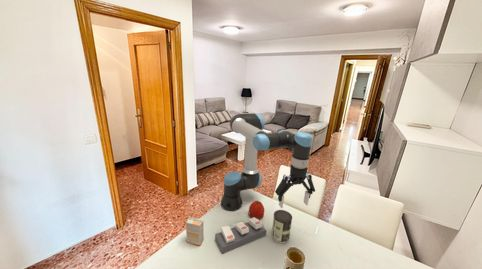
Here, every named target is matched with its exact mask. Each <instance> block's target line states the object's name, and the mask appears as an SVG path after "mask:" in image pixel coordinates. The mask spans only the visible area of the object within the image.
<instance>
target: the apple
mask: <svg viewBox="0 0 482 269" xmlns="http://www.w3.org/2000/svg"><path fill="white" fill-rule="evenodd" d="M248 207H249V208H248V214H249V216H250V218H254V217H255V218H256V219H258V220H260V219H262V218H263V217H264V214H265V207H264V205H263V203H262V201H259V200H253V202H252V203H250V205H249V206H248Z"/></svg>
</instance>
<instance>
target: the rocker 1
mask: <svg viewBox="0 0 482 269" xmlns="http://www.w3.org/2000/svg"><path fill="white" fill-rule="evenodd" d="M230 228H231V227H230V225H229V224H228V225H225V226H221V228H220V232H222V234H223V236H224V239H225V241H226V243H229V242H232V241H234V239H235V237H234V235H233V233H232V231H231V229H230Z"/></svg>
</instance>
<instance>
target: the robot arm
mask: <svg viewBox="0 0 482 269" xmlns="http://www.w3.org/2000/svg"><path fill="white" fill-rule="evenodd" d="M229 127H230V129H231V131H233V132H234V133H236V134H240V135H242V136H243V137H244V139H245V144H244V148H245V149H244V168H242V170H241V172H242V173H241V172H239V171H230V172H228V173H226V174H225V175H224V177H223V195H222V197H221V200H220V206H221V208H222V209H224V210H226V211H228V212H229V211H231V212H235V211H238V210H239V209H241V208H242V207H243V200H242V196H241V192H242V191H247V190H248V191H249V190H251V189H256V188H259V187H260V186H261V184H262V174H261V173H260V171H259V169H257V168H258V167H257V166H258V164H257V163H258V151H267V150H268V151H269V150H274V149H275V150H276V149H285V148H287V149H289V150H290V151H292V153H291V154H292V155H291V159H290V160H291V161H290V167H289V168H290V169H289V175H286V174H283V176H282V179H281V180H280V182H279V184H278V186H277V188H276V189H275V191H274V192H275V194H276V196H277V197H278V198H277V200H278V207H279V208H280V209H283V207H284V202H285V196H284V195H285V194H286V192H287V191H288V190H289V189H290V188H292V187H293V186H294V185H295V186H296V185H302V186H303V187H304V188H305V191H304V198H303V204H304V205H305V206H309V200H310V199H311V195H313V194H314V192H316V189H315V186H314V183H313V176H312V175H311V174H310V173H309V172H308V166H309V162H310V161H309V160H310V155H311V149H312V145H313V136H312V134H311V133H308V132H304V131H299V132H298V131H297V132H296V133H293V132H292V131H289V130H285V129H282V130H280V131H278V132H273V133H272V132H269V133H268V132H266V131H263V130H264V129H265V120H264V117H263V116H262V115H261V114H260V113H253V112H252V113H238V114H237V113H236V114H235V115H233V116H232V117H231V119H230V120H229ZM305 180H307V183H308V185H307V183H306V182H305Z"/></svg>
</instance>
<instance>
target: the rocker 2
mask: <svg viewBox="0 0 482 269" xmlns="http://www.w3.org/2000/svg"><path fill="white" fill-rule="evenodd" d="M234 227H235V228H236V229H237V230H238V231H239V232H240V233H241V234H245V233H248V232H249V228H248V227H247V226H246V225H245V224H244V222H242V221H240V222H237V223H234Z"/></svg>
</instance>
